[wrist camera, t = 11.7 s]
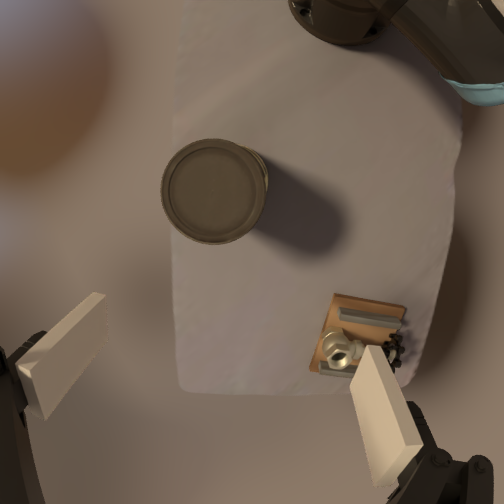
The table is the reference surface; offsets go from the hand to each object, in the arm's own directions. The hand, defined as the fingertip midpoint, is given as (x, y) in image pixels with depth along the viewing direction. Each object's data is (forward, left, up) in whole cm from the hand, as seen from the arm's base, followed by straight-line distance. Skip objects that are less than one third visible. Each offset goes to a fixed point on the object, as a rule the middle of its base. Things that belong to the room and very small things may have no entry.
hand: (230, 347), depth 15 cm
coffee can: (-4, -5, -32) cm, 32 cm away
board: (+16, +19, -31) cm, 40 cm away
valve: (+15, +19, -30) cm, 39 cm away
